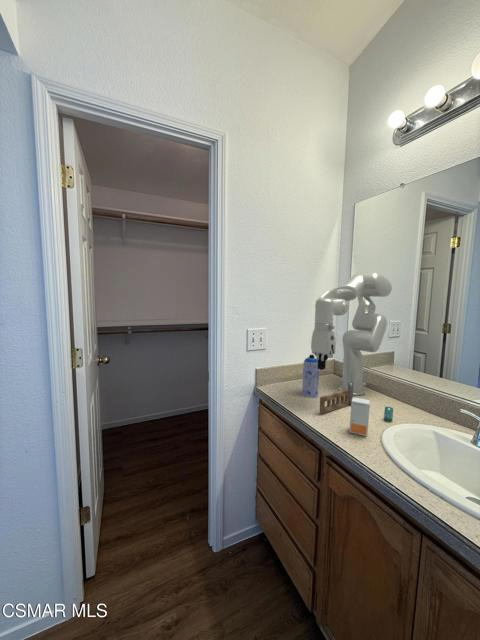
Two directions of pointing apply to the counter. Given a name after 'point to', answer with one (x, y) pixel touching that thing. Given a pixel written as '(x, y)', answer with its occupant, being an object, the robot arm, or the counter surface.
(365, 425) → the skincare box
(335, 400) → the gate
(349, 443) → the counter surface
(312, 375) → the aerosol can
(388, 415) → the teal elongated shape
